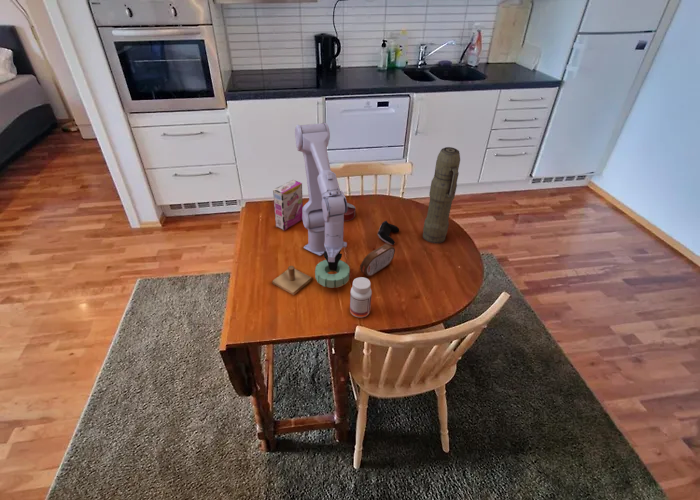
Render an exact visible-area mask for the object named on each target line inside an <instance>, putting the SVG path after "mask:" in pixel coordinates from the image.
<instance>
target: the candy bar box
mask: <svg viewBox="0 0 700 500" xmlns="http://www.w3.org/2000/svg"><path fill="white" fill-rule="evenodd" d="M272 195H273V206H274V207H273V208H274V218H275V219H274V220H275V228H278V229H280V230H281V231H286V230H288V229H290V228H291V227H293V226H294V225H296V224H298V223H300V222H301V221H303V219H302V214H303V213H302V209H303V206H304V205H303V203H304V201H303V182H301V181H297V180H295V179H292V180H289V181H288V182H286V183H284V184H282V185H279V186H277V187H275V188H274V189H272Z"/></svg>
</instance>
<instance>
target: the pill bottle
mask: <svg viewBox="0 0 700 500" xmlns="http://www.w3.org/2000/svg"><path fill="white" fill-rule="evenodd" d="M371 285H372V283H371V281H370V279H369V278H367V277H362V276H359V277H356V278H354V279H353V281H352V287H351V288H350V294H349V312H350V314H351V315H352V316H353V317H354V318H355V317H356V318H359V319H363V318H366V317H367V316H369V314H371V306H372V297H373V296H372V294H373V291H372V288H371Z"/></svg>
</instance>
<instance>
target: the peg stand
mask: <svg viewBox="0 0 700 500" xmlns="http://www.w3.org/2000/svg"><path fill="white" fill-rule="evenodd" d="M312 280H313V277H312V276H310V275H308V274H306V273H304V272H302V271H300V270H298V269H296V268H295V266H294V265H289V266H288V267H287V269H286V270H285V271H283V272H282V273H281V274H279V275H278V276H277V277H275V278H274V279H272V281H271V282H272V285H274V286H275V287H278V288H279V289H281V290H283V291H285V292H287V293H289V294H290V295H292V296H295V295H296V294H297V293H298V292H299V291H301V290H302V289H303V288H304V287H305V286H307V285H308V284H309V283H310V282H312Z"/></svg>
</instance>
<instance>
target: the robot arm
mask: <svg viewBox="0 0 700 500" xmlns="http://www.w3.org/2000/svg"><path fill="white" fill-rule="evenodd" d="M294 138H295V145H296V149H297V151H298V152H301V153H302V155H303V160H304V161H303V162H304V168H305V176H306V177H305V178H306V185H307V192H308V193H307V194H308V201H307V202H306V203H305V204H304V205H303V209H302V213H303V214H302V219H303V220H302V223H303V226H304V228H305V229H306V230H307V240H308V241H307V242H308V243H307V244H305V245H304V246H303V249H304V250H306V251H308V252H311V253H313V254H314V255H316V256H319V257H321V256H322V255H323V258H324V260H327V262H328V265H329V269H330V270H335V271H336V270H337V266H338V262H339V260H342V258H343V253H341V252H342V249H343V248H347V247H348V242H347V241H344V228H345V227H344V226H345V223H344V222H345V221H344V213H347V203H348V201H347V198H346V195H345V194H344V192H343V190H341V189H340V184H339V181H338V178H337V174H336V173H335V172H334V171H332V170H331V169H332V168H331V165H330V159H329V154H328V146H329V144H330V138H331V131H330V128H329V125H328V124H327V123H326V122H319V123H309V124H296V126H295V128H294Z"/></svg>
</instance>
